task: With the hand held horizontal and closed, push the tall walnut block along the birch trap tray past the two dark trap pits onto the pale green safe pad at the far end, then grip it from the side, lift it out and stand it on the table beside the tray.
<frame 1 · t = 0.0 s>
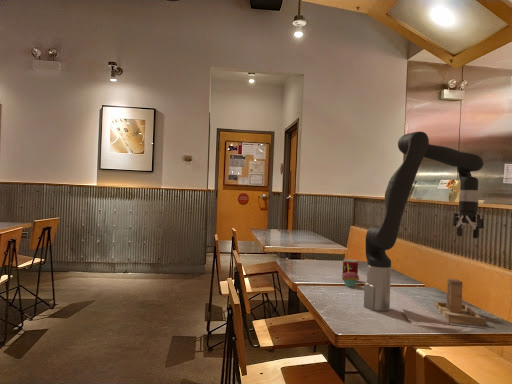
hand: (467, 237, 170), 29 cm above the table, tool pointing down, fingers open, 8 cm apart
cupcake: (350, 286, 196), on the table
canned food: (349, 280, 210), on the table
trap tray: (457, 317, 148), on the table
walnut block: (453, 310, 153), point 1 cm above the table, touching trap tray
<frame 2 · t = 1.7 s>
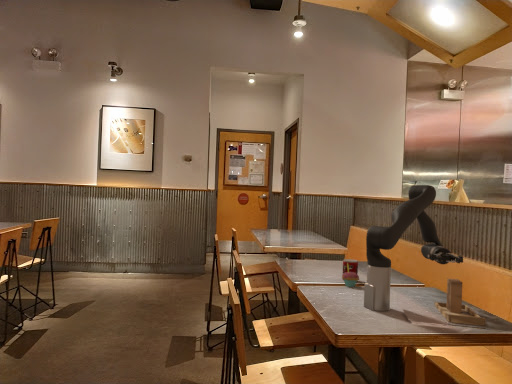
hand: (450, 260, 161), 20 cm above the table, tool horizontal, fingers open, 6 cm apart
nothing on the table moved.
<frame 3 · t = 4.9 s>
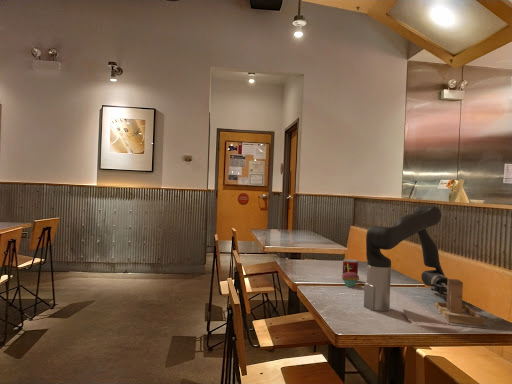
hand: (452, 293, 156), 8 cm above the table, tool horizontal, fingers closed
walnut block: (454, 310, 153), point 1 cm above the table, touching gripper, trap tray
everything else where it was.
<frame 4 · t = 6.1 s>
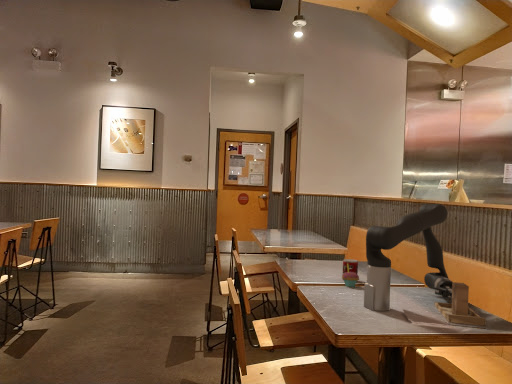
hand: (457, 297, 149), 8 cm above the table, tool horizontal, fingers closed
walnut block: (459, 315, 146), point 1 cm above the table, touching gripper
everything else where it was.
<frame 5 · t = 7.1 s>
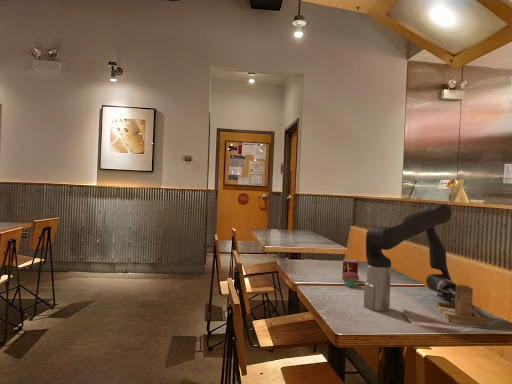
hand: (460, 299, 145), 8 cm above the table, tool horizontal, fingers closed
walnut block: (462, 319, 142), point 1 cm above the table, touching gripper, trap tray
everything else where it was.
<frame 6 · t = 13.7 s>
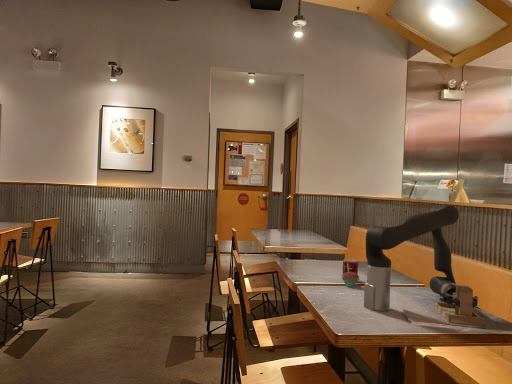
hand: (466, 304, 139), 8 cm above the table, tool horizontal, fingers closed on walnut block, 4 cm apart
walnut block: (463, 320, 141), point 1 cm above the table, touching gripper, trap tray
everything else where it was.
when the fingers open (8 cm above the table, at t = 18.4 s): walnut block drops 1 cm, on the table.
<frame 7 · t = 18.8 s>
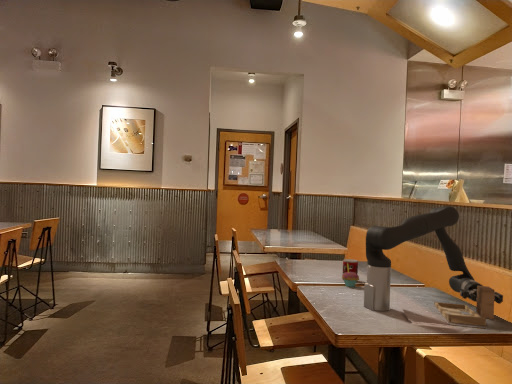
hand: (487, 299, 146), 8 cm above the table, tool horizontal, fingers open, 8 cm apart
walnut block: (484, 319, 148), on the table
everything else where it was.
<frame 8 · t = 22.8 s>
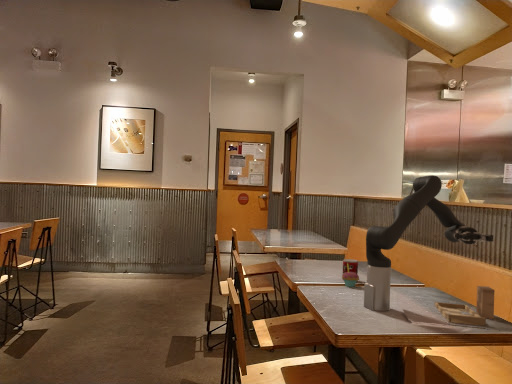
hand: (478, 238, 158), 30 cm above the table, tool horizontal, fingers open, 8 cm apart
nothing on the table moved.
at the end: walnut block inside the target area (0.1 cm from its centre), on the table; walnut block tilted 0°; the gripper is holding nothing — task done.
